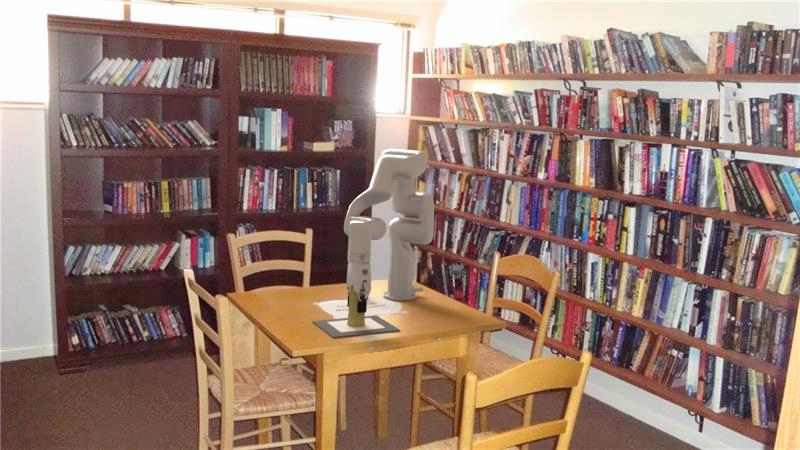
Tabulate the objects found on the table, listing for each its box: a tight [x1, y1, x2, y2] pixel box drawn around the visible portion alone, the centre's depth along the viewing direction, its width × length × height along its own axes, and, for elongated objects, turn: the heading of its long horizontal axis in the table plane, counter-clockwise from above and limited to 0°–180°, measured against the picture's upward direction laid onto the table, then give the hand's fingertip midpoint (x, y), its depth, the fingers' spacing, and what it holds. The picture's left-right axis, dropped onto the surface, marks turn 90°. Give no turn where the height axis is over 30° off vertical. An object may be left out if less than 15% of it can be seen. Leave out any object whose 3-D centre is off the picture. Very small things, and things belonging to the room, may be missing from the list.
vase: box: [347, 283, 366, 327], centre depth 244 cm, size 6×6×14 cm
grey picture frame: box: [312, 314, 401, 339], centre depth 245 cm, size 24×18×1 cm
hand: (356, 309), depth 244 cm, fingers open, 7 cm apart
